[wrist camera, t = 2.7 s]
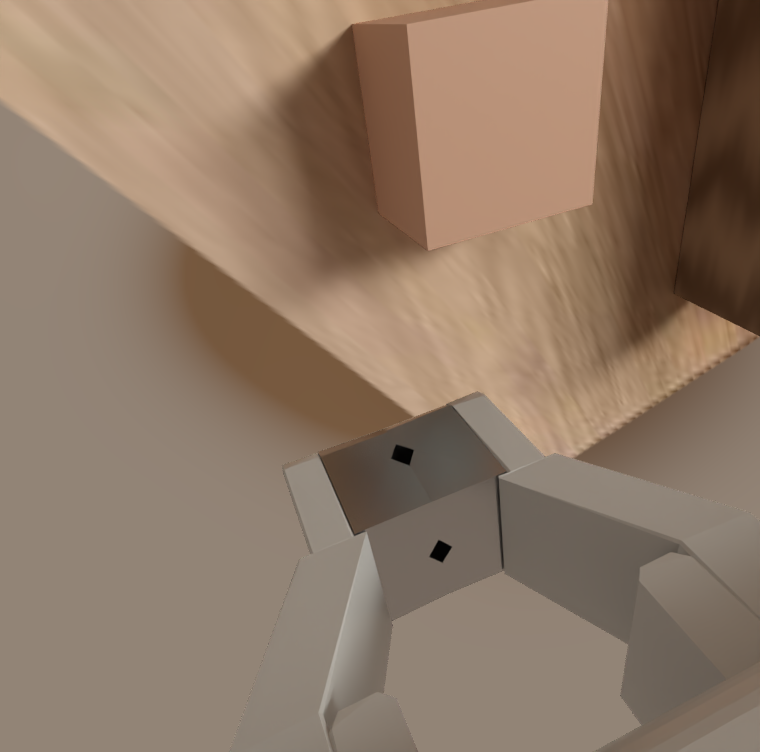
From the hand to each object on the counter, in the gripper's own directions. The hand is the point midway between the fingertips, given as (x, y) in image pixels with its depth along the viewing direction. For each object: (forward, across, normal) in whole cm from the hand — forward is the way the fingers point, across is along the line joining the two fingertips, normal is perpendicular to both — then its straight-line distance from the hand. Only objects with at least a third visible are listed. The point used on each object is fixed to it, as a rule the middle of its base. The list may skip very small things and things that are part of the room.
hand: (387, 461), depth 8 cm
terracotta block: (+20, -11, 0) cm, 23 cm away
